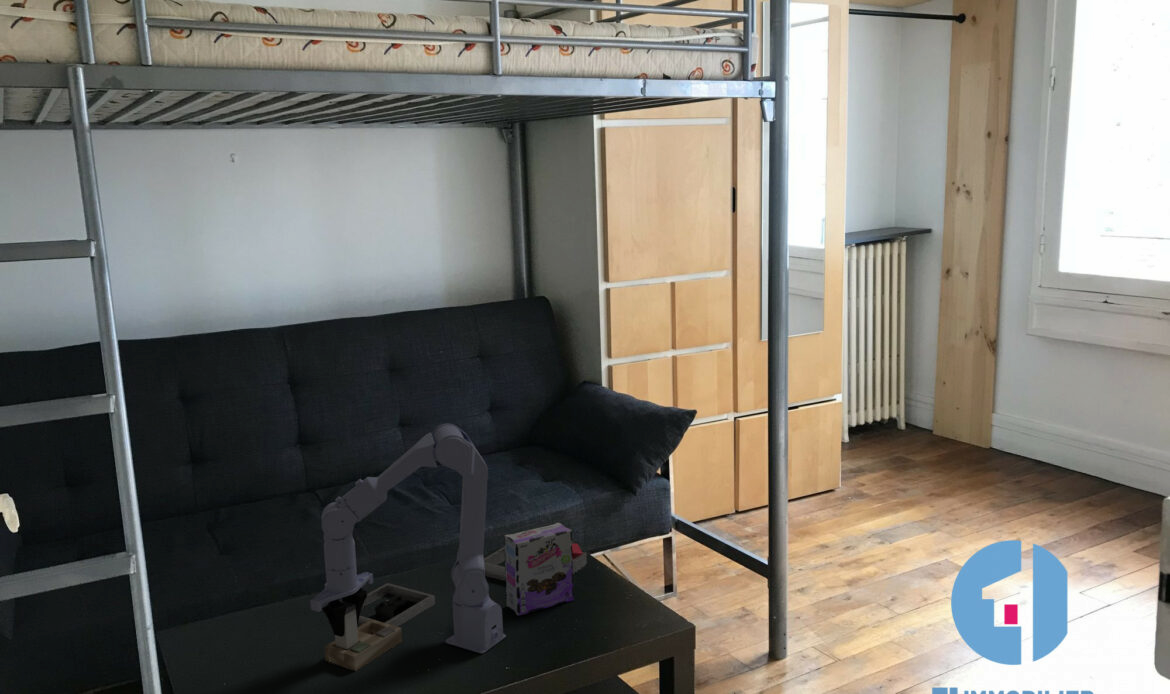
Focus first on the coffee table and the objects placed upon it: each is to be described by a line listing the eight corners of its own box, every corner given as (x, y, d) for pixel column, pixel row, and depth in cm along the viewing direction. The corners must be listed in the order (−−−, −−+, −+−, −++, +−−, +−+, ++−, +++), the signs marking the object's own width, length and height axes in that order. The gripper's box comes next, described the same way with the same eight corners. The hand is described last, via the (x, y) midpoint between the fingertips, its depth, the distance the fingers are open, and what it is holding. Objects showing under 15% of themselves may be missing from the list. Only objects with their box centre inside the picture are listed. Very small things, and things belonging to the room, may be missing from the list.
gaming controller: (392, 624, 198) (376, 600, 199) (380, 636, 200) (364, 612, 202) (424, 606, 206) (409, 583, 207) (412, 618, 208) (397, 595, 210)
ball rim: (586, 564, 226) (586, 552, 226) (548, 591, 213) (547, 579, 212) (519, 549, 237) (518, 538, 236) (478, 574, 223) (477, 562, 222)
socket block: (402, 641, 192) (401, 626, 191) (355, 671, 181) (354, 655, 180) (372, 632, 196) (371, 617, 195) (325, 661, 185) (324, 645, 184)
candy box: (518, 617, 201) (515, 543, 198) (505, 606, 206) (502, 534, 203) (574, 600, 208) (572, 529, 205) (561, 591, 213) (559, 521, 210)
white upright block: (358, 642, 186) (355, 604, 184) (347, 649, 183) (344, 610, 182) (347, 639, 187) (344, 601, 186) (335, 645, 185) (332, 607, 183)
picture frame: (434, 604, 208) (434, 595, 208) (385, 634, 195) (384, 625, 194) (388, 591, 215) (387, 582, 214) (337, 619, 202) (336, 610, 201)
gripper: (352, 547, 190) (357, 611, 193) (296, 574, 178) (302, 642, 181) (379, 554, 187) (383, 619, 189) (323, 582, 175) (329, 651, 177)
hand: (345, 631), depth 185 cm, fingers closed on white upright block, 3 cm apart
